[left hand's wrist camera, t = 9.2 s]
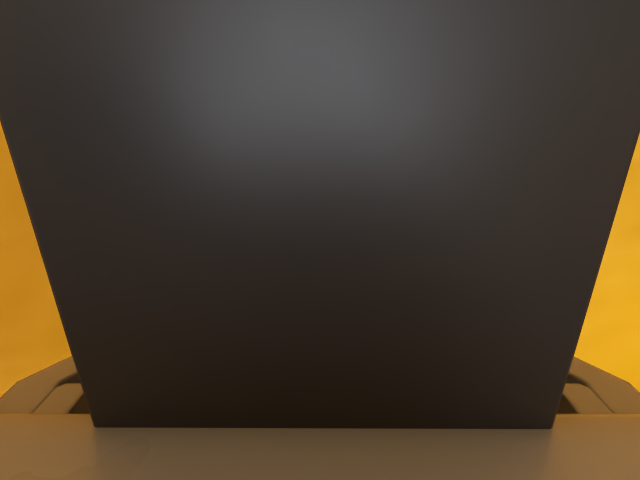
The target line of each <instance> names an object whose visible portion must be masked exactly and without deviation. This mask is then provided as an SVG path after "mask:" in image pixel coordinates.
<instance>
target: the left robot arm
mask: <svg viewBox="0 0 640 480" xmlns="http://www.w3.org/2000/svg"><path fill="white" fill-rule="evenodd" d="M0 480H640V392H638V391H637V390H636V389H635V388H634V387H633V386H632V385H631V384H630V383H629V382H627V381H624V380H622V379H620V378H618V377H616V376H614V375H612V374H610V373H607V372H605V371H603V370H601V369H599V368H597V367H595V366H593V365H590V364H588V363H586V362H584V361H582V360H580V359H578V358H576V357H573V360H572V363H571V367H570V370H569V373H568V377H567V380H566V383H565V387H564V390H563V394H562V397H561V400H560V404H559V407H558V411H557V414H556V417H555V421H554V424H553V428H551V429H354V428H96V427H94V426H93V422H92V419H91V416H90V413H89V409H88V406H87V403H86V399H85V396H84V393H83V390H82V386H81V383H80V380H79V377H78V373H77V370H76V367H75V363H74V360H73V357H72V356H71V357H69V358H67V359H65V360H63V361H60V362H58V363H56V364H54V365H52V366H50V367H48V368H46V369H44V370H41V371H39V372H37V373H35V374H33V375H31V376H29V377H27V378H24V379H22V380H20V381H18V382H17V383H16V384H15V385H13V386H12V387H11V388H10V389H9V390H8V391H7V392H6V393H5V394H4V395H3V396H2V397H1V398H0Z"/></svg>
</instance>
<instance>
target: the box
mask: <svg viewBox="0 0 640 480" xmlns="http://www.w3.org/2000/svg"><path fill="white" fill-rule="evenodd" d="M0 121H1V125H2V128H3V131H4V134H5V138H6V141H7V144H8V147H9V151H10V154H11V157H12V161H13V164H14V167H15V170H16V174H17V177H18V180H19V183H20V187H21V190H22V193H23V197H24V200H25V203H26V206H27V210H28V213H29V216H30V219H31V223H32V226H33V229H34V233H35V236H36V239H37V242H38V246H39V249H40V252H41V255H42V259H43V262H44V265H45V269H46V272H47V275H48V278H49V282H50V285H51V288H52V291H53V295H54V298H55V301H56V305H57V308H58V311H59V314H60V318H61V321H62V324H63V327H64V331H65V334H66V337H67V341H68V344H69V347H70V350H71V354H72V357H73V360H74V363H75V367H76V370H77V373H78V377H79V380H80V383H81V386H82V390H83V393H84V396H85V399H86V403H87V406H88V409H89V413H90V416H91V419H92V422H93V426H94V427H96V428H354V429H551V428H553V424H554V421H555V417H556V414H557V411H558V407H559V404H560V400H561V397H562V394H563V390H564V387H565V383H566V380H567V377H568V373H569V370H570V367H571V363H572V360H573V356H574V353H575V350H576V346H577V343H578V339H579V336H580V333H581V329H582V326H583V322H584V319H585V316H586V312H587V309H588V306H589V302H590V299H591V295H592V292H593V289H594V285H595V282H596V278H597V275H598V272H599V268H600V265H601V261H602V258H603V255H604V251H605V248H606V244H607V241H608V238H609V234H610V231H611V228H612V224H613V221H614V217H615V214H616V211H617V207H618V204H619V200H620V197H621V194H622V190H623V187H624V183H625V180H626V177H627V173H628V170H629V166H630V163H631V160H632V156H633V153H634V150H635V146H636V143H637V139H638V136H639V133H640V0H0Z"/></svg>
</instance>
